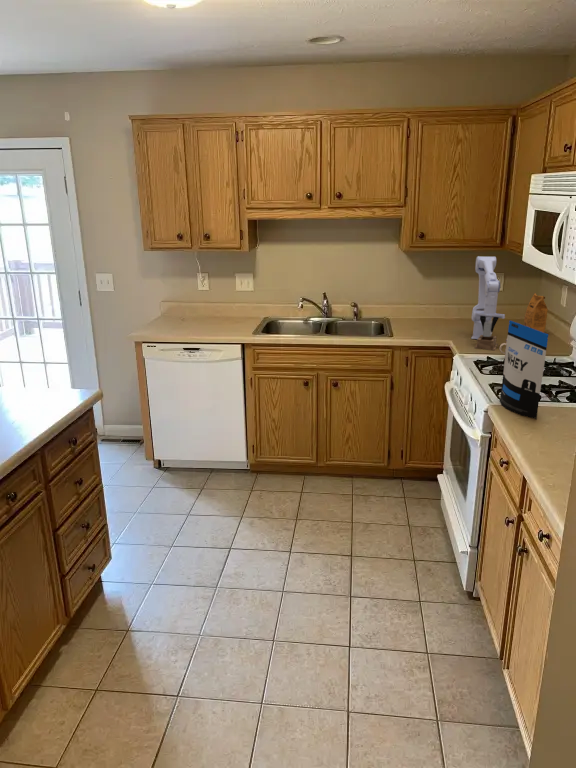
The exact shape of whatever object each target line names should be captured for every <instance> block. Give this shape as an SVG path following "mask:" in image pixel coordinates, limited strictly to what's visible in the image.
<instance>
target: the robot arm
mask: <svg viewBox="0 0 576 768" xmlns="http://www.w3.org/2000/svg"><path fill="white" fill-rule="evenodd" d="M496 266H497V257H496V256H480V255H478V256H476V258H475V268H474V269H475V273H476V274H478V279H479V280H478V294H477V296H478V297H477V298H478V299H477V304H476V305H475V306H473V308H472V311H471V321H472V322H473V328H472V329H473V330H472V331H473V332H472V335H471V338H470V339H472V340H478V338H479V337H480V336H481V335H483V330H484V323H485V321H486V320H491V321H492V329H491V332H492V333H493V332H494V328H495V326H496V324H497V323H498V320H499V319H503V320H504V319H505V318H506V316H505V315H506V314H504V313H497V305H498V295H499V293H500V290H501V281H500V280H499V279H498V277H497V274H496V273H497V272H494V270H495V268H496Z"/></svg>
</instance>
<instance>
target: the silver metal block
mask: <svg viewBox="0 0 576 768" xmlns="http://www.w3.org/2000/svg"><path fill="white" fill-rule="evenodd" d="M491 329H492V319H491V320H486V321H485V323H484V330H483V336H484V337H490V336H493V335H492V334H493V332H491Z"/></svg>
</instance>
